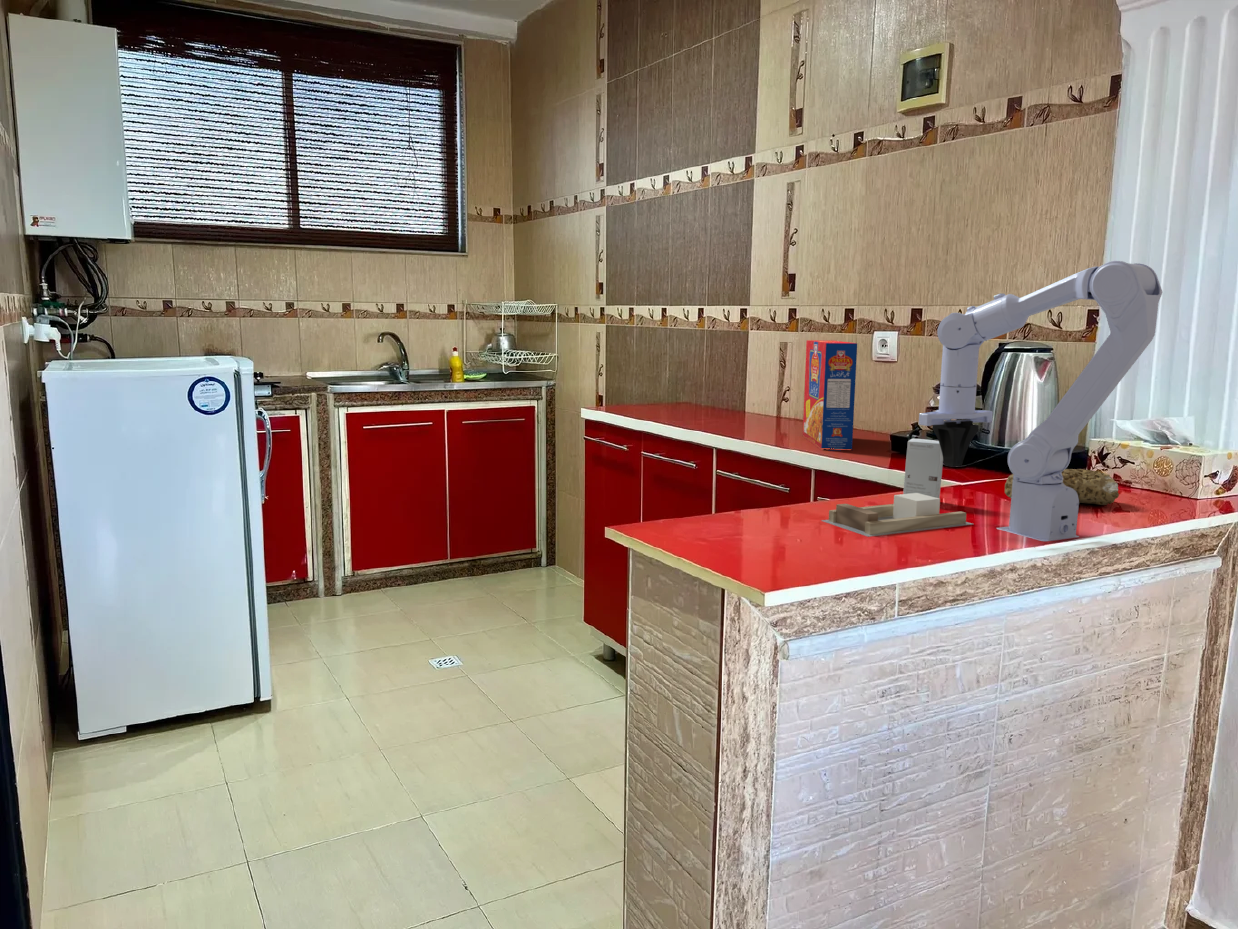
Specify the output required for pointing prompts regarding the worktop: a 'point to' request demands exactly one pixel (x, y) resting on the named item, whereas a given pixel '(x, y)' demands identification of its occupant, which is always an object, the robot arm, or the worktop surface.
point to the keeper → (915, 505)
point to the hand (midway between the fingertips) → (952, 465)
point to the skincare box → (923, 467)
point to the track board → (889, 532)
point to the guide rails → (870, 524)
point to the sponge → (1084, 486)
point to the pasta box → (829, 393)
